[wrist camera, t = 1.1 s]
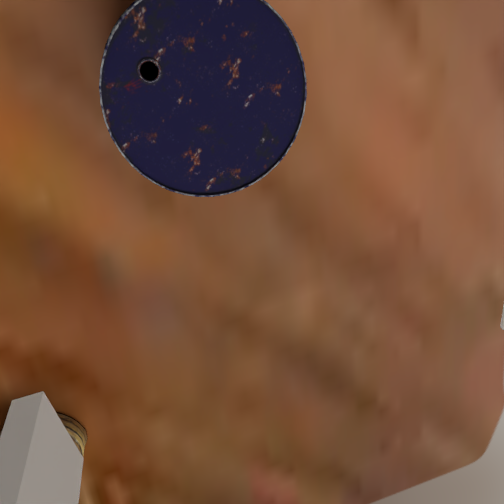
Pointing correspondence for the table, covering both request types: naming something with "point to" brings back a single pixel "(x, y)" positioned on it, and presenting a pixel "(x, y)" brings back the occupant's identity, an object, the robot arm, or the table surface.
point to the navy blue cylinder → (202, 92)
